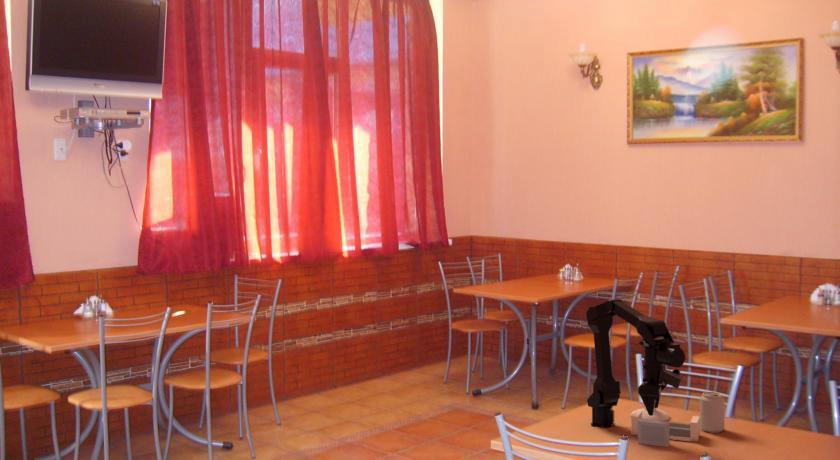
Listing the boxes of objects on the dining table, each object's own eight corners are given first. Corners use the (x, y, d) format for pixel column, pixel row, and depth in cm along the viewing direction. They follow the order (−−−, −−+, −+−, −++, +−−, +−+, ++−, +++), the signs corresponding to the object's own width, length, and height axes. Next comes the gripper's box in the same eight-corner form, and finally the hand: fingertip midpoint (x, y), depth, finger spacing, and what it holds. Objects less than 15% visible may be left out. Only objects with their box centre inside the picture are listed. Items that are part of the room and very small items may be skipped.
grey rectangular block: (637, 443, 256) (637, 421, 256) (639, 440, 259) (639, 418, 259) (667, 447, 253) (667, 424, 252) (669, 444, 255) (669, 421, 255)
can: (726, 434, 265) (726, 396, 264) (701, 432, 266) (701, 395, 265) (722, 427, 272) (722, 391, 271) (698, 426, 273) (698, 390, 273)
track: (631, 434, 265) (631, 416, 265) (636, 428, 272) (636, 409, 272) (697, 442, 257) (697, 422, 256) (700, 434, 264) (700, 416, 264)
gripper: (676, 369, 243) (676, 422, 244) (685, 357, 260) (684, 406, 260) (637, 366, 247) (637, 418, 248) (648, 354, 264) (648, 403, 265)
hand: (653, 411), depth 255 cm, fingers open, 9 cm apart
